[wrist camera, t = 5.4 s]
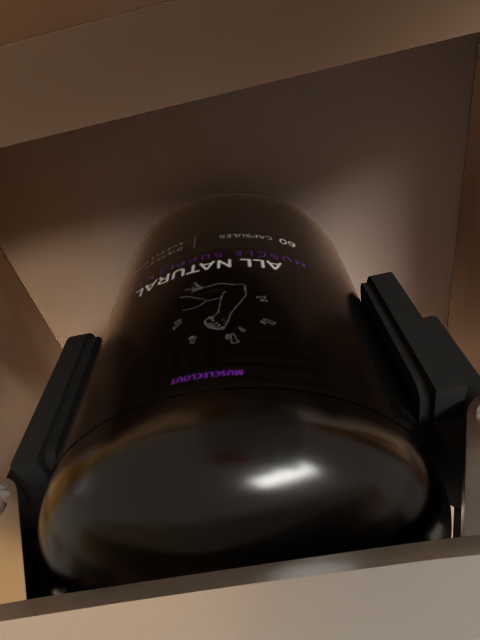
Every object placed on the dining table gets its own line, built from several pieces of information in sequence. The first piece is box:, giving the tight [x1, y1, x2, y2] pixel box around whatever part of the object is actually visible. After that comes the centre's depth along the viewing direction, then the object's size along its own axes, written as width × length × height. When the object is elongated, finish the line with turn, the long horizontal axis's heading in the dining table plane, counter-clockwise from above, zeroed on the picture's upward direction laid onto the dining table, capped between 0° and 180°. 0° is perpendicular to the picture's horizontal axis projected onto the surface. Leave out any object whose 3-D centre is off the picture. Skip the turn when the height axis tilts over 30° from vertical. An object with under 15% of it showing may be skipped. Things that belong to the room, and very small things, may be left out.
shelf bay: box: [0, 0, 480, 478], centre depth 12 cm, size 12×17×6 cm
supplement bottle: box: [37, 193, 452, 596], centre depth 9 cm, size 7×7×12 cm
